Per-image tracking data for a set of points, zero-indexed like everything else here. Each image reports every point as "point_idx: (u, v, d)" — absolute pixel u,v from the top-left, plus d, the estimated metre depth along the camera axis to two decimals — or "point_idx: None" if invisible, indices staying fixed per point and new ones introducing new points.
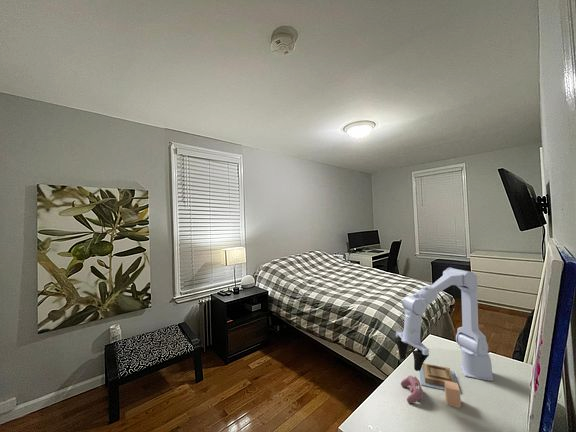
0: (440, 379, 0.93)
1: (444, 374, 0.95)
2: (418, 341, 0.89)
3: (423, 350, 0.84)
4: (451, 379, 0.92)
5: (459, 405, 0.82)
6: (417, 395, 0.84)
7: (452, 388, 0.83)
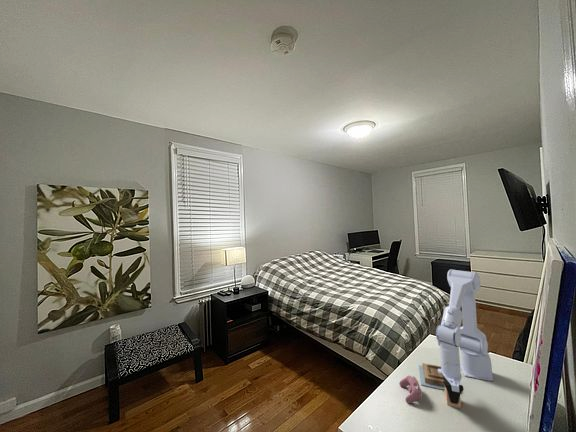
0: (440, 379, 0.93)
1: None
2: (454, 375, 0.82)
3: (451, 385, 0.79)
4: None
5: (459, 405, 0.82)
6: (416, 395, 0.84)
7: None
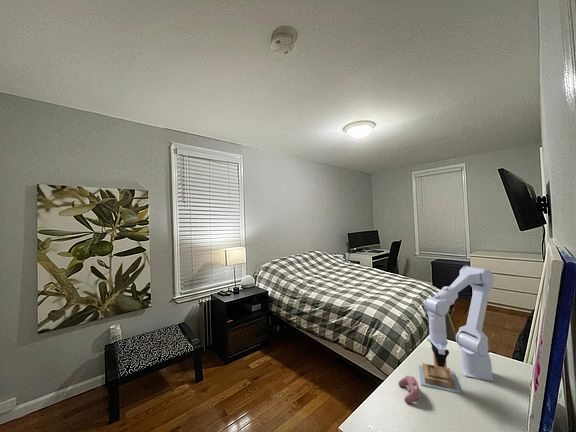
0: (440, 379, 0.93)
1: (444, 374, 0.95)
2: (441, 341, 0.91)
3: (438, 349, 0.88)
4: (451, 379, 0.92)
5: (445, 368, 0.91)
6: (415, 395, 0.84)
7: None
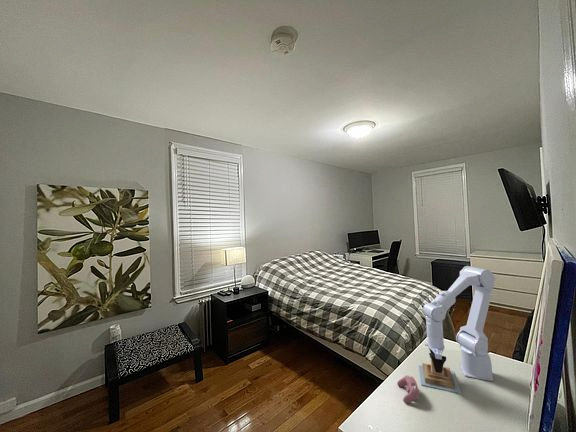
0: (440, 379, 0.93)
1: (444, 374, 0.95)
2: (438, 346, 0.94)
3: (435, 354, 0.91)
4: (451, 379, 0.92)
5: (442, 374, 0.94)
6: (413, 395, 0.85)
7: None
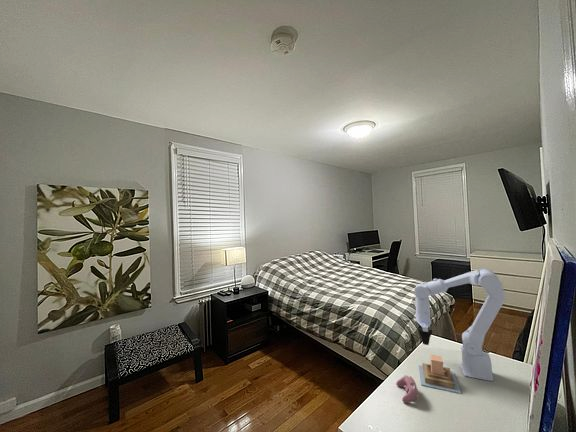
0: (440, 379, 0.93)
1: (444, 374, 0.95)
2: (425, 321, 1.06)
3: (422, 327, 1.03)
4: (451, 379, 0.92)
5: (442, 374, 0.94)
6: (412, 395, 0.85)
7: (436, 360, 0.95)
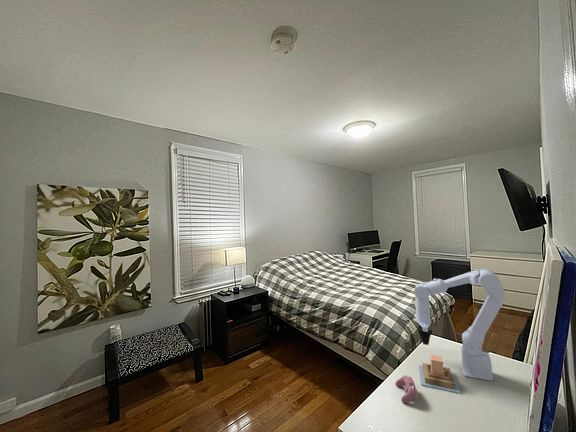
0: (440, 379, 0.93)
1: (444, 374, 0.95)
2: (425, 321, 1.06)
3: (422, 327, 1.03)
4: (451, 379, 0.92)
5: (442, 374, 0.94)
6: (411, 395, 0.85)
7: (436, 360, 0.95)
